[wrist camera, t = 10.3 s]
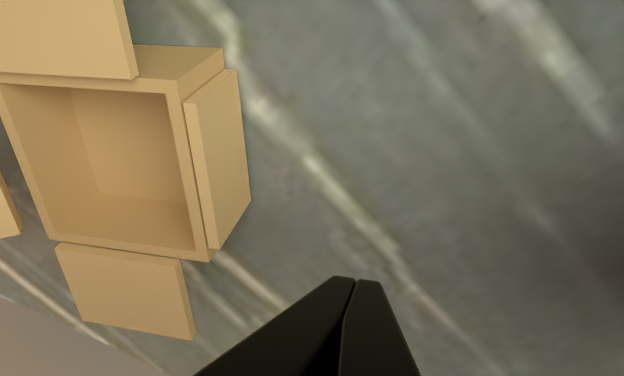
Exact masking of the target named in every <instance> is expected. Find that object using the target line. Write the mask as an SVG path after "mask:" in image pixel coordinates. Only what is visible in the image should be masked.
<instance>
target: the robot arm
mask: <svg viewBox="0 0 624 376" xmlns="http://www.w3.org/2000/svg"><path fill="white" fill-rule="evenodd" d="M193 376H421V375H420V373H419V370H418V368H417V366H416V363H415V361H414V359H413V357H412V354H411V352H410V350H409V347H408V345H407V343H406V340H405V338H404V336H403V334H402V331H401V329H400V327H399V324H398V322H397V320H396V317H395V315H394V313H393V311H392V308H391V306H390V304H389V301H388V299H387V297H386V294H385V292H384V290H383V287H382V285H381V284H380V283H379V282H377V281H371V280H364V279H359V280H357V282H356V280H355V279H354V278H350V277H343V276H333V277H331V278H329V279H328V280H327V281H325V282H324V283H322V284H321V285H320V286H318V287H317V288H315V289H314V290H313V291H311V292H310V293H308V294H307V295H306V296H304V297H303V298H301V299H300V300H298V301H297V302H296V303H294V304H293V305H291V306H290V307H289V308H287V309H286V310H284V311H283V312H282V313H280V314H279V315H277V316H276V317H275V318H273V319H272V320H270V321H269V322H268V323H266V324H265V325H263V326H262V327H260V328H259V329H258V330H256V331H255V332H253V333H252V334H251V335H249V336H248V337H246V338H245V339H244V340H242V341H241V342H239V343H238V344H237V345H235V346H234V347H232V348H231V349H230V350H228V351H227V352H225V353H224V354H222V355H221V356H220V357H218V358H217V359H215V360H214V361H213V362H211V363H210V364H208V365H207V366H206V367H204V368H203V369H201V370H200V371H199V372H197V373H196V374H194V375H193Z"/></svg>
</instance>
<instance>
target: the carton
mask: <svg viewBox="0 0 624 376" xmlns="http://www.w3.org/2000/svg"><path fill="white" fill-rule="evenodd" d="M0 117H1V119H2V122H3V124H4V127H5V129H6V132H7V135H8V137H9V140H10V142H11V145H12V147H13V150H14V152H15V155H16V157H17V160H18V162H19V165H20V167H21V170H22V173H23V175H24V178H25V180H26V183H27V185H28V188H29V190H30V193H31V195H32V198H33V200H34V203H35V206H36V208H37V211H38V213H39V216H40V218H41V221H42V223H43V226H44V228H45V231H46V233H47V236H48V238H49V239H51V240H58V241H64V242H61V243H60V244H59V245H57V246H56V247H55V248H54V250H55V253H56V255H57V258H58V260H59V263H60V265H61V268H62V270H63V273H64V275H65V278H66V281H67V283H68V286H69V288H70V291H71V293H72V296H73V298H74V301H75V304H76V306H77V309H78V311H79V314H80V316H81V319H82V321H87V322H92V323H98V324H103V325H108V326H114V327H119V328H125V329H130V330H135V331H141V332H146V333H151V334H157V335H162V336H168V337H173V338H178V339H184V340H189V341H192V340H193V338H194V336H195V334H196V329H195V325H194V320H193V316H192V311H191V307H190V302H189V298H188V293H187V289H186V284H185V279H184V275H183V270H182V266H181V261H180V259H175V258H181V259H188V260H195V261H201V262H208V263H209V262H210V260H211V259H212V257H213V256H214V254H215V253H216V251H217V250H220V249H221V247H222V245H223V244H224V242H225V241H226V239H227V238H228V236H229V234H230V233H231V231H232V230H233V228H234V227H235V225H236V224H237V222H238V220H239V219H240V217H241V216H242V214H243V213H244V211H245V209H246V208H247V206H248V205H249V203H250V202H251V194H250V185H249V177H248V168H247V159H246V150H245V141H244V132H243V123H242V114H241V105H240V96H239V87H238V78H237V70H236V69H225V65H224V57H223V49H222V48H210V47H185V46H161V45H136V44H132V40H131V36H130V31H129V27H128V22H127V18H126V13H125V8H124V4H123V0H0ZM65 242H71V243H65ZM72 243H78V244H72ZM79 244H85V245H79ZM86 245H92V246H86ZM93 246H99V247H105V248H99V247H93ZM106 248H112V249H106ZM113 249H119V250H113ZM120 250H126V251H120ZM127 251H133V252H127ZM134 252H140V253H147V254H153V255H147V254H140V253H134ZM154 255H160V256H154ZM161 256H167V257H161ZM168 257H174V258H168Z"/></svg>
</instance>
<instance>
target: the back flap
mask: <svg viewBox="0 0 624 376" xmlns="http://www.w3.org/2000/svg"><path fill="white" fill-rule="evenodd" d="M22 229H23V224H22V221H21V219H20V216H19V214H18V212H17V209H16V207H15V205H14V202H13V200H12V197H11V195H10V193H9V190H8V188H7V186H6V183H5V181H4V178H3V176H2V174H1V171H0V238H5V237H10V236H15V235H20V234H21V232H22Z"/></svg>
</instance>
